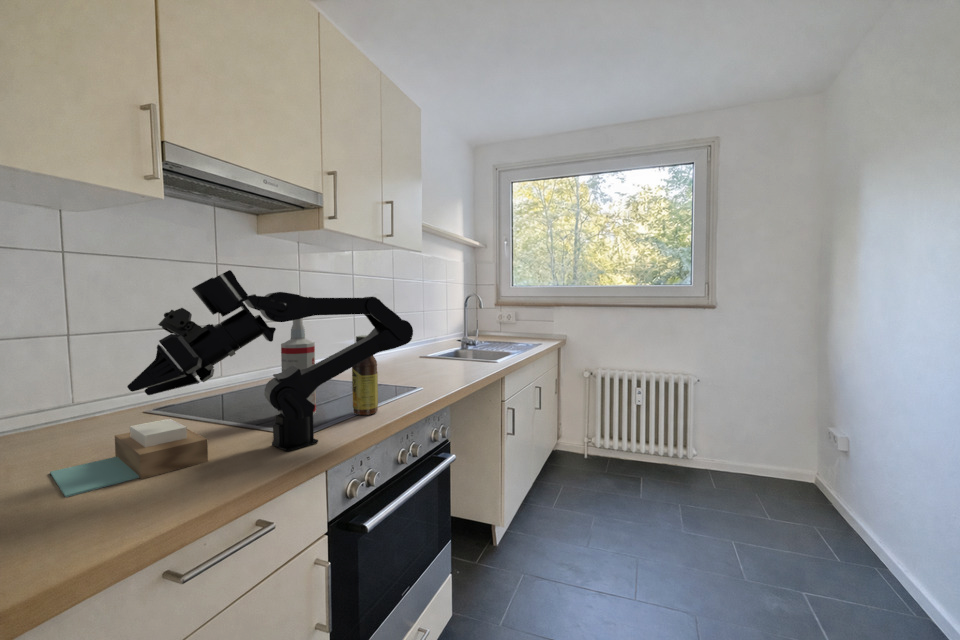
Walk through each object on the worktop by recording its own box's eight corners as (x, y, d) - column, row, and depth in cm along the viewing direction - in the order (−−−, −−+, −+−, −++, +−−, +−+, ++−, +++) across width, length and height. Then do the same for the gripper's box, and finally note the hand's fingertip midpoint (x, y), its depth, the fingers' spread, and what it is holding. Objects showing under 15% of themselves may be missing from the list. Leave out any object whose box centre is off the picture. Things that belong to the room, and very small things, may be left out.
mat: (120, 457, 76) (120, 455, 76) (143, 476, 67) (143, 474, 67) (50, 473, 69) (50, 471, 69) (65, 497, 60) (65, 495, 60)
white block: (170, 428, 80) (169, 418, 80) (187, 438, 74) (186, 427, 74) (130, 437, 75) (129, 426, 75) (145, 447, 69) (144, 435, 69)
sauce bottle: (355, 410, 108) (354, 334, 108) (379, 409, 109) (378, 334, 108) (350, 417, 102) (349, 336, 101) (376, 416, 103) (375, 336, 102)
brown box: (177, 442, 83) (176, 423, 83) (208, 461, 74) (207, 439, 74) (115, 456, 76) (114, 435, 76) (141, 479, 66) (140, 454, 66)
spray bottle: (277, 415, 103) (274, 316, 102) (305, 409, 109) (303, 315, 108) (293, 421, 99) (291, 316, 98) (321, 414, 105) (320, 315, 104)
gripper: (208, 313, 83) (123, 360, 75) (190, 285, 66) (80, 342, 59) (244, 356, 84) (164, 407, 76) (236, 340, 67) (133, 403, 60)
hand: (138, 391), depth 68 cm, fingers open, 9 cm apart
